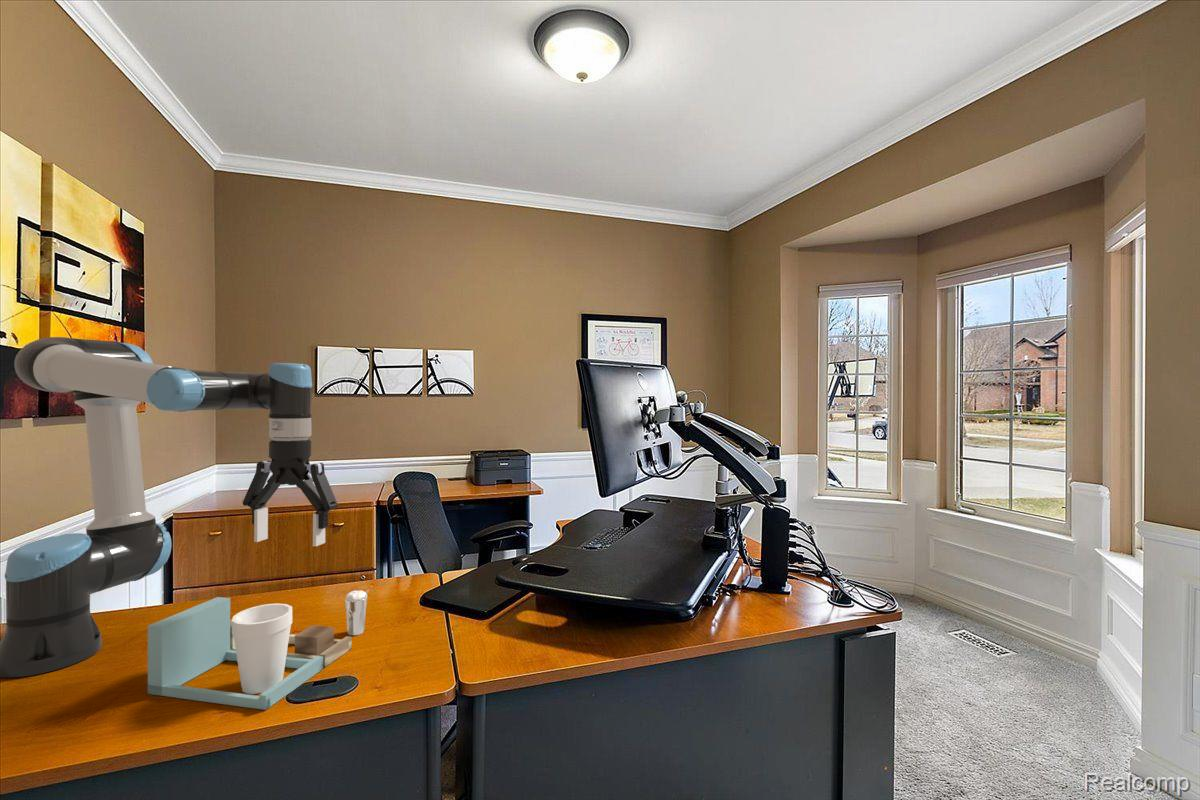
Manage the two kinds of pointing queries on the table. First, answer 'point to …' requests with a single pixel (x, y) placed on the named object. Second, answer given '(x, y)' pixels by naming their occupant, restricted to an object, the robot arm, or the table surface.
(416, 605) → the table surface
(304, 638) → the walnut block
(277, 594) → the table surface
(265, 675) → the foam cup
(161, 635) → the teal frame with backboard
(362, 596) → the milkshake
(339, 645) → the slat
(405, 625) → the table surface
